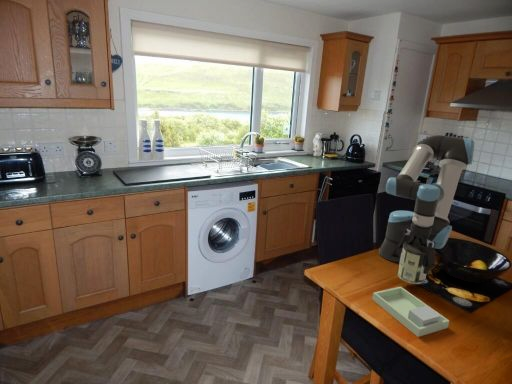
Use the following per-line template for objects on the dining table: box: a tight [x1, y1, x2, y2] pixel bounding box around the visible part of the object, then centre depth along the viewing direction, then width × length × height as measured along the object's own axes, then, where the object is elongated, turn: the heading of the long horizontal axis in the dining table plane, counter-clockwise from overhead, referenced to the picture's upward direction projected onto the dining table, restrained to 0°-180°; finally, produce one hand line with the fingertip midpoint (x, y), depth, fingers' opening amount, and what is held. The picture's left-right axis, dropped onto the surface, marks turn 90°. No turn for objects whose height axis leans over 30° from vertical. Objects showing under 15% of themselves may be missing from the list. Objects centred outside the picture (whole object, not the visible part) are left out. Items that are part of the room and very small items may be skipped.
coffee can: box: [397, 242, 428, 285], centre depth 140 cm, size 10×10×14 cm
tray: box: [371, 286, 450, 338], centre depth 124 cm, size 14×22×4 cm, turn 23°
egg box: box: [408, 306, 440, 328], centre depth 118 cm, size 8×6×4 cm
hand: (411, 272), depth 141 cm, fingers closed on coffee can, 10 cm apart
